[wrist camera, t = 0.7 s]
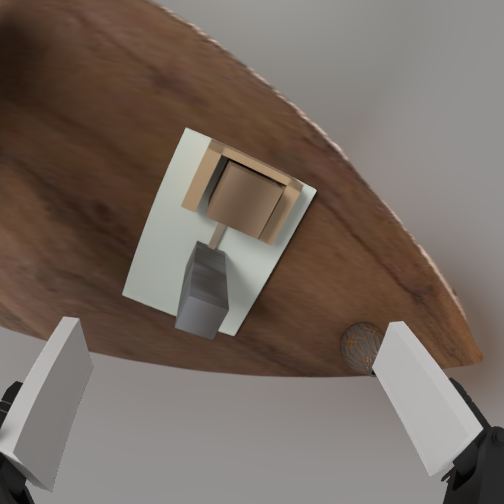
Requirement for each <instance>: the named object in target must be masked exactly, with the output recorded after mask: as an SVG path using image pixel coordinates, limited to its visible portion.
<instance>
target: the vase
mask: <svg viewBox="0 0 504 504" xmlns="http://www.w3.org/2000/svg"><path fill="white" fill-rule="evenodd" d="M383 339H384V335H383V334H382V332H381V331H380V330H379V329H378V328H377V327H375V326H374V325H372V324H369V323H358V324H354V325H352V326H351V327H349V328H348V329H347V330H346V331H345V333H344V334H343V336H342V339H341V344H340V349H341V354H342V357H343V359H344V361H345V362H346V364H347V365H348V366H349V367H350V368H351V369H353V370H354V371H356V372H359V373H363V374H367V375H369V376H371V377H377V376H376V374H375V372H374V370H373V368H372V366H373V364H374V362H375V359H376V357H377V354H378V352H379V349H380V347H381V344H382V342H383Z"/></svg>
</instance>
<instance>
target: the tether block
mask: <svg viewBox="0 0 504 504" xmlns="http://www.w3.org/2000/svg"><path fill="white" fill-rule="evenodd" d="M282 192H283V190H282V189H281V188H280V187H279V186H278V185H277V184H276V183H275V182H274V181H273V180H272V179H271V178H270V177H269V176H266V175H264V174H262V173H260V172H258V171H256V170H254V169H252V168H250V167H248V166H246V165H243V164H241V163H239V162H237V161H235V160H233V159H230V158H228V160H227V162H226V164H225V166H224V168H223V170H222V172H221V174H220V176H219V179H218V181H217V183H216V185H215V187H214V189H213V191H212V193H211V195H210V198H209V202H208V211H207V218H209V219H212V220H214V221H216V222H219V223H218V225H217V227H216V229H215V231H214V233H213V235H212V237H211V240H210V242H209V244H208V245H207V244H204V243H202V242H200V241H197V242H196V244H195V247H194V249H193V251H192V253H191V256H190V258H189V260H188V262H187V265H186V268H185V274H184V279H183V284H182V289H181V294H180V300H179V305H178V311H177V317H176V323H175V328H178V329H180V330H183V331H186V332H189V333H192V334H195V335H198V336H201V337H204V338H207V339H210V340H213V339H214V337H215V335H216V333H217V332H218V330H219V328H220V326H221V324H222V322H223V321H224V319H225V317H226V315H227V313H228V311H229V303H228V289H227V275H226V260H225V252H224V251H221V250H219V249H217V248H215V247H216V245H217V243H218V241H219V239H220V237H221V235H222V232H223V230H224V228H225V226H228V227H230V228H233V229H235V230H237V231H240V232H242V233H244V234H247V235H249V236H251V237H254V238H256V239H258V237H259V235H260V234H261V232H262V230H263V228H264V226H265V224H266V222H267V220H268V218H269V217H270V215H271V213H272V211H273V209H274V207H275V205H276V203H277V201H278V200H279V198H280V196H281V194H282Z"/></svg>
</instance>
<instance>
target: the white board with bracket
mask: <svg viewBox="0 0 504 504" xmlns="http://www.w3.org/2000/svg"><path fill="white" fill-rule="evenodd" d="M228 158H230V159H233V160H235V161H237V162H239V163H241V164H243V165H246V166H248V167H250V168H252V169H254V170H256V171H258V172H260V173H262V174H264V175H266V176H269V177H270V178H271V179H272V180H273V181H274V182H275V183H276V184H277V185H278V186H279V187H280V188H281V189H282V190H283V192H282V194H281V196H280V198H279V200H278V201H277V203H276V205H275V207H274V209H273V211H272V213H271V215H270V217H269V218H268V220H267V222H266V224H265V226H264V228H263V230H262V232H261V234H260V235H259V237H258V239H256V238H254V237H251V236H249V235H247V234H244V233H242V232H240V231H237V230H235V229H233V228H230V227H228V226H225V228H224V230H223V232H222V235H221V237H220V239H219V241H218V243H217V245H216V247H215V248H217V249H219V250H221V251H224V252H225V260H226V275H227V289H228V303H229V311H228V313H227V315H226V317H225V319H224V321H223V322H222V324H221V326H220V328H219V330H218V331H220V332H223V333H226V334H229V335H232V336H235V334H236V332H237V330H238V329H239V327H240V325H241V324H242V322H243V320H244V319H245V317H246V315H247V313H248V312H249V310H250V308H251V307H252V305H253V303H254V301H255V300H256V298H257V296H258V294H259V293H260V291H261V289H262V288H263V286H264V284H265V282H266V281H267V279H268V277H269V275H270V274H271V272H272V270H273V268H274V267H275V265H276V263H277V261H278V259H279V258H280V256H281V254H282V252H283V251H284V249H285V247H286V245H287V243H288V242H289V240H290V238H291V236H292V235H293V233H294V231H295V229H296V227H297V226H298V224H299V222H300V220H301V218H302V216H303V215H304V213H305V211H306V209H307V207H308V206H309V204H310V202H311V200H312V198H313V196H314V195H315V193H316V191H317V190H316V189H314V188H312V187H310V186H309V185H307V184H305V183H303V182H301V181H299V180H297V179H295V178H293V177H291V176H289V175H287V174H285V173H284V172H282V171H280V170H278V169H276V168H274V167H272V166H270V165H268V164H266V163H263V162H261V161H259V160H257V159H255V158H253V157H251V156H249V155H247V154H245V153H243V152H241V151H238V150H236V149H234V148H232V147H230V146H228V145H225V144H223V143H221V142H219V141H216V140H214V139H212V138H210V137H207V136H205V135H203V134H200V133H198V132H196V131H193V130H191V129H189V128H186V129H185V131H184V133H183V136H182V138H181V140H180V142H179V144H178V146H177V149H176V151H175V153H174V155H173V158H172V160H171V162H170V164H169V167H168V169H167V171H166V174H165V176H164V179H163V181H162V183H161V186H160V188H159V191H158V193H157V196H156V198H155V201H154V203H153V206H152V209H151V211H150V214H149V216H148V219H147V222H146V224H145V227H144V230H143V233H142V235H141V238H140V241H139V244H138V247H137V250H136V253H135V256H134V259H133V262H132V265H131V268H130V271H129V274H128V277H127V280H126V284H125V287H124V290H123V293H122V295H123V296H126V297H128V298H131V299H133V300H136V301H138V302H141V303H143V304H146V305H148V306H151V307H153V308H156V309H158V310H161V311H164V312H166V313H169V314H172V315H174V316H177V311H178V305H179V300H180V294H181V289H182V284H183V279H184V274H185V268H186V265H187V262H188V260H189V258H190V256H191V253H192V251H193V249H194V247H195V244H196V242H197V241H200V242H202V243H204V244H207V245H208V244H209V242H210V240H211V237H212V235H213V233H214V231H215V229H216V227H217V225H218V223H219V222H216V221H214V220H212V219H209V218H207V211H208V202H209V198H210V195H211V193H212V191H213V189H214V187H215V185H216V183H217V181H218V179H219V176H220V174H221V172H222V170H223V168H224V166H225V164H226V162H227V160H228Z"/></svg>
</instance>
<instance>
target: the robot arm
mask: <svg viewBox="0 0 504 504" xmlns="http://www.w3.org/2000/svg"><path fill="white" fill-rule="evenodd" d="M372 368H373V370H374V372H375V374H376V376H377V377H378V379H379V381H380V383H381V384H382V386H383V388H384V390H385V392H386V393H387V395H388V397H389V399H390V401H391V403H392V404H393V406H394V408H395V410H396V412H397V414H398V416H399V417H400V419H401V421H402V423H403V425H404V427H405V429H406V431H407V433H408V434H409V436H410V438H411V440H412V442H413V444H414V446H415V448H416V450H417V452H418V454H419V456H420V458H421V460H422V462H423V463H424V466H425V468H426V470H427V472H428V474H429V476H432V475H434V474H436V473H438V472H440V471H443V470H444V469H445V468H447V467H448V466H449V465H450V463H452V462H453V464H454V465H455V466H454V467H453V468H452V469H451V470H450V471H449V472H448V473H447V474H446V475H445V476H443V478H442V480H441V481H444V480H445V479H446V478H448V477H449V476H450V478H449V479H448V480H447V483H448V486H447V490H446V494H445V498H444V502H443V504H504V429H503V428H501V427H496V426H495V427H491V426H490V425H489V423H488V422H487V421H486V419H485V418H484V416H483V415H482V413H481V412H480V411H479V409H478V408H477V406H476V405H475V404H474V402H472V400H471V398H470V397H469V395H467V393H466V391H465V390H464V389H463V387H462V386H461V385H460V384H459V383H458V382H456V381H455V380H454V379H452V378H447V376H446V375H445V374H444V373H443V371H442V370H441V369H440V367H439V366H438V365H437V363H436V362H435V361H434V359H433V358H432V357H431V355H430V354H429V353H428V352H427V350H426V349H425V348H424V347H423V345H422V344H421V343H420V341H419V340H418V339H417V338H416V336H415V335H414V334H413V333H412V331H411V330H410V329H409V328H408V327H407V325H406V324H405V323H404V322H403V321H400V322H390V323H389V326H388V329H387V331H386V334H385V337H384V339H383V342H382V344H381V347H380V349H379V352H378V354H377V357H376V359H375V362H374V364H373V366H372ZM92 369H93V364H92V361H91V358H90V355H89V352H88V348H87V345H86V342H85V338H84V335H83V331H82V327H81V324H80V320H79V318H72V317H63V318H62V320H61V321H60V323H59V325H58V326H57V328H56V329H55V331H54V332H53V334H52V335H51V337H50V339H49V340H48V342H47V343H46V345H45V347H44V349H43V350H42V352H41V353H40V355H39V357H38V358H37V360H36V362H35V364H34V365H33V367H32V369H31V371H30V372H29V374H28V376H27V378H26V379H25V381H24V383H21V382H18V381H16V382H15V383H13V384H12V385H11V386H10V387H9V388H8V389H7V390H6V392H5V394H4V396H3V398H2V401H1V402H0V504H35V503H34V501H33V499H32V497H31V495H30V493H29V490H28V489H27V487H26V486H25V482H26V479H28V480H29V481H30V482H31V483H32V484H33V485H34V486H36V487H39V488H42V489H44V490H47V491H50V492H52V490H53V487H54V483H55V479H56V475H57V472H58V468H59V465H60V461H61V458H62V454H63V451H64V448H65V444H66V441H67V438H68V435H69V432H70V429H71V426H72V423H73V420H74V417H75V414H76V412H77V409H78V406H79V403H80V401H81V398H82V395H83V392H84V390H85V387H86V385H87V382H88V380H89V377H90V375H91V372H92Z"/></svg>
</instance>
